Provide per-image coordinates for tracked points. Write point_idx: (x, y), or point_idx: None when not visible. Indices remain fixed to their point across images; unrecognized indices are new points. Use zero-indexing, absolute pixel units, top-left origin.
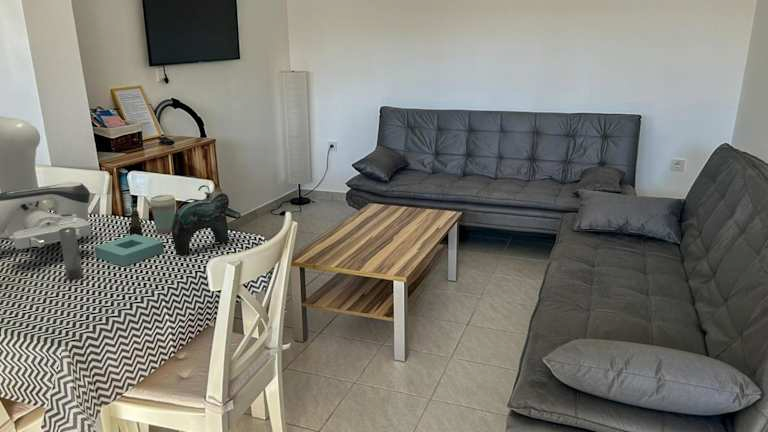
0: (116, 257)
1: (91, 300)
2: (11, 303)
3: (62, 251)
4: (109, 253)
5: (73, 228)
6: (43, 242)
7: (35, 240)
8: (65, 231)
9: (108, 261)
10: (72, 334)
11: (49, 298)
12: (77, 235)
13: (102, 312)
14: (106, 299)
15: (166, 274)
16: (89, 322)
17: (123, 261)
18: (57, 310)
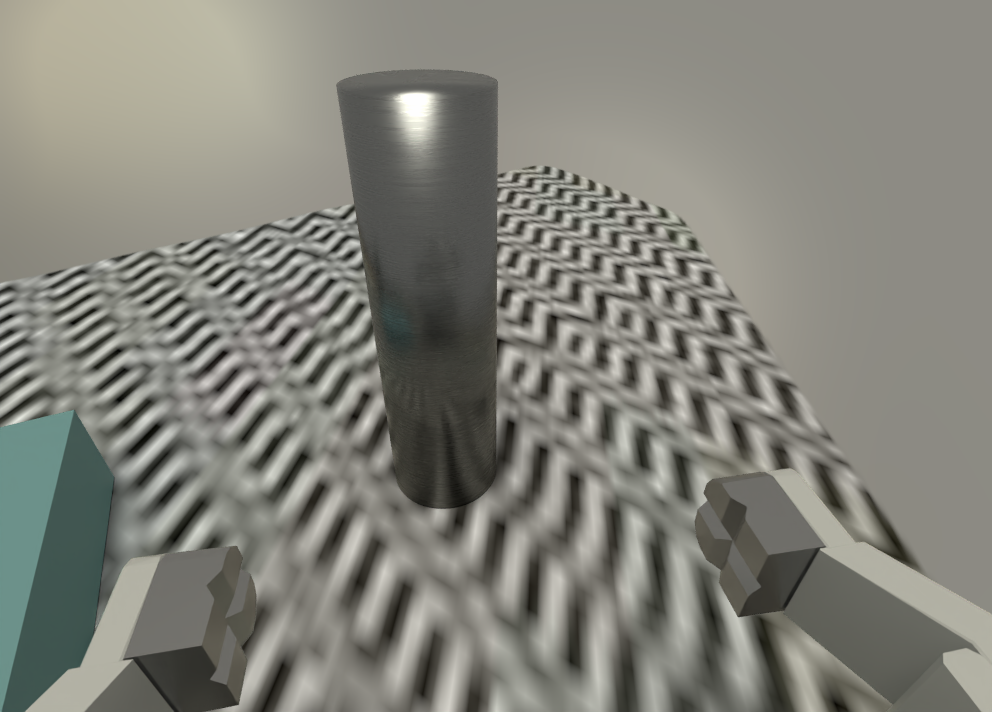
0: (78, 497)
1: None
2: (739, 330)
3: (496, 286)
4: (51, 569)
5: (353, 82)
6: (713, 485)
7: (876, 553)
8: (443, 72)
9: None
10: (520, 178)
11: (584, 312)
12: (188, 553)
13: None
14: None
15: (79, 312)
16: None
17: (95, 447)
18: (552, 248)
